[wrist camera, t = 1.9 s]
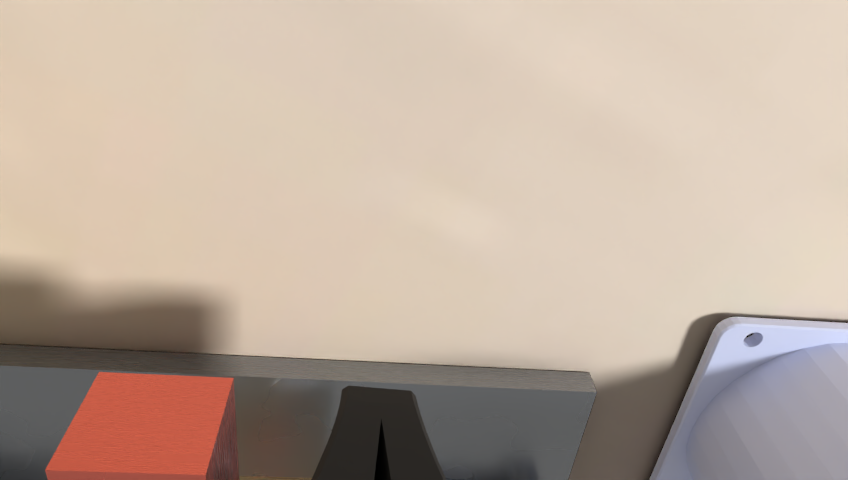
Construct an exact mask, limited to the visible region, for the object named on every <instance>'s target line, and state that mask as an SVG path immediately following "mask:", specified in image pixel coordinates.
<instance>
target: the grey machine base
mask: <svg viewBox="0 0 848 480" xmlns="http://www.w3.org/2000/svg"><path fill="white" fill-rule="evenodd" d="M99 372H112V373H135V374H157V375H180V376H202V377H225V378H234V392H235V410H236V427H237V444H238V461H239V479H240V480H311V479H312V477H313V475H314V473H315V470H316V468H317V466H318V463H319V461H320V459H321V456H322V454H323V452H324V449H325V447H326V445H327V442H328V440H329V437H330V434H331V431H332V429H333V426H334V423H335V420H336V416H337V413H338V409H339V405H340V400H341V392H342V389H343V388H345V387H347V386H360V387H373V388H385V389H397V390H409V391H412V392H413V393H414V394H415V396H416V399H417V403H418V407H419V410H420V414H421V417H422V420H423V423H424V426H425V428H426V431H427V434H428V437H429V439H430V442H431V445H432V447H433V450H434V452H435V455H436V457H437V459H438V462H439V464H440V466H441V469H442V471H443V473H444V475H445V477H446V480H568V478H569V475H570V472H571V469H572V466H573V463H574V460H575V457H576V454H577V451H578V448H579V445H580V442H581V439H582V436H583V433H584V430H585V427H586V424H587V421H588V418H589V415H590V412H591V409H592V406H593V403H594V400H595V397H596V394H597V391H596V388H595V386H594V383H593V381H592V378H591V375H590V373H587V372H566V371H545V370H524V369H503V368H482V367H461V366H440V365H419V364H398V363H378V362H357V361H336V360H315V359H294V358H273V357H252V356H231V355H210V354H189V353H168V352H147V351H126V350H105V349H84V348H63V347H42V346H21V345H0V480H48V479H47V476H46V472H45V469H46V467H47V466H48V464H49V462H50V460H51V458H52V457H53V455H54V453H55V451H56V449H57V447H58V446H59V444H60V442H61V440H62V438H63V437H64V435H65V433H66V431H67V429H68V427H69V426H70V424H71V422H72V420H73V418H74V416H75V415H76V413H77V411H78V409H79V407H80V406H81V404H82V402H83V400H84V398H85V396H86V395H87V393H88V391H89V389H90V387H91V386H92V384H93V382H94V380H95V378H96V376H97V375H98V373H99Z"/></svg>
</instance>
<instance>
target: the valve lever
mask: <svg viewBox="0 0 848 480" xmlns="http://www.w3.org/2000/svg"><path fill="white" fill-rule="evenodd" d="M45 472H46V476H47V479H48V480H240V479H239V461H238V444H237V427H236V410H235V392H234V378H225V377H202V376H180V375H157V374H135V373H112V372H99V373H98V375H97V376H96V378H95V380H94V382H93V384H92V386H91V387H90V389H89V391H88V393H87V395H86V396H85V398H84V400H83V402H82V404H81V406H80V407H79V409H78V411H77V413H76V415H75V416H74V418H73V420H72V422H71V424H70V426H69V427H68V429H67V431H66V433H65V435H64V437H63V438H62V440H61V442H60V444H59V446H58V447H57V449H56V451H55V453H54V455H53V457H52V458H51V460H50V462H49V464H48V466H47V467H46V469H45Z"/></svg>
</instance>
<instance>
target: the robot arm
mask: <svg viewBox="0 0 848 480" xmlns="http://www.w3.org/2000/svg"><path fill="white" fill-rule="evenodd" d="M751 333H754V334H753V335H751V336H749V337H747V338H746V336H747V335H749V334H751ZM311 480H446V477H445V475H444V473H443V471H442V469H441V466H440V464H439V462H438V459H437V457H436V455H435V452H434V450H433V447H432V445H431V442H430V439H429V437H428V434H427V431H426V428H425V426H424V423H423V420H422V417H421V414H420V410H419V407H418V403H417V399H416V396H415V394H414V393H413V392H412V391H409V390H397V389H385V388H373V387H360V386H347V387H345V388H343V389H342V392H341V400H340V405H339V409H338V413H337V416H336V420H335V423H334V426H333V429H332V431H331V434H330V437H329V440H328V442H327V445H326V447H325V449H324V452H323V454H322V456H321V459H320V461H319V463H318V466H317V468H316V470H315V473H314V475H313V477H312V479H311ZM649 480H848V323H838V322H820V321H803V320H786V319H768V318H751V317H729V318H727V319H724V320H722V321H721V322H719V323H718V324H717V325H716V327H715V328H714V330H713V332H712V334H711V336H710V339H709V341H708V343H707V346H706V348H705V350H704V353H703V355H702V357H701V360H700V362H699V364H698V367H697V369H696V371H695V374H694V376H693V378H692V381H691V383H690V386H689V388H688V390H687V393H686V395H685V397H684V400H683V402H682V404H681V407H680V409H679V411H678V414H677V416H676V418H675V421H674V423H673V425H672V428H671V430H670V432H669V435H668V437H667V439H666V442H665V444H664V446H663V449H662V451H661V453H660V456H659V458H658V460H657V463H656V465H655V468H654V470H653V472H652V475H651V477H650V479H649Z"/></svg>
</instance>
